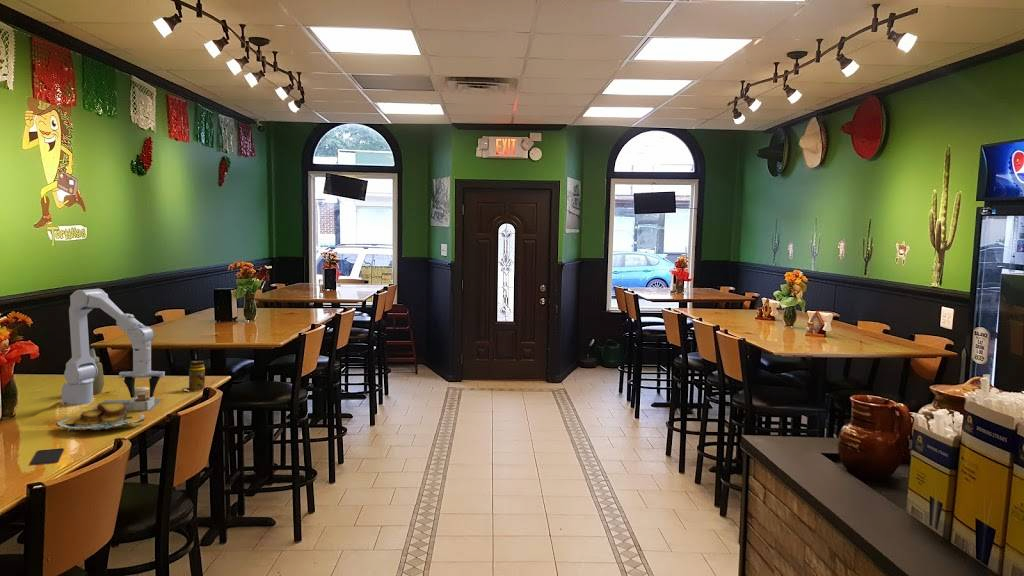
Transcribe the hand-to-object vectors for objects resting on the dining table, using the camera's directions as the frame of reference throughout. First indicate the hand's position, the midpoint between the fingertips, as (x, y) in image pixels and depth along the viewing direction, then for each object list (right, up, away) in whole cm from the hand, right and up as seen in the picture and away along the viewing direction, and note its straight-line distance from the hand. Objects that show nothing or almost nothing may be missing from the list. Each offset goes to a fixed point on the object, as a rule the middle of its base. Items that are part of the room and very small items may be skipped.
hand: (142, 397), depth 240 cm
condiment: (+2, -3, +36) cm, 37 cm away
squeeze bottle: (-33, -3, +24) cm, 41 cm away
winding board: (-7, -5, +3) cm, 9 cm away
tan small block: (0, -4, +1) cm, 4 cm away
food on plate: (-3, -7, -18) cm, 20 cm away
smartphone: (+1, -10, -50) cm, 51 cm away
